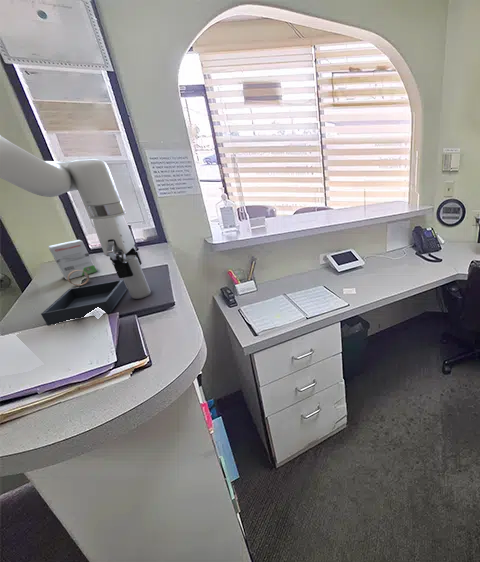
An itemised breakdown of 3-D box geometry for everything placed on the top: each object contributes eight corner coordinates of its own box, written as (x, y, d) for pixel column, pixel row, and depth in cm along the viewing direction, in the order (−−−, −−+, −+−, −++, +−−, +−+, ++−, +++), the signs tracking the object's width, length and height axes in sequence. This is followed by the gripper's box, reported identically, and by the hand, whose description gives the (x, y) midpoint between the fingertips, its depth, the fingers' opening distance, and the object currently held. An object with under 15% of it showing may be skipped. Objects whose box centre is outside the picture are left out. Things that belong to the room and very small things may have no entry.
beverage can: (139, 300, 88) (122, 261, 83) (127, 298, 90) (111, 260, 85) (155, 293, 92) (140, 255, 87) (144, 291, 94) (129, 254, 89)
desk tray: (47, 325, 78) (40, 314, 76) (74, 299, 91) (68, 288, 90) (111, 312, 82) (105, 301, 81) (127, 289, 96) (123, 279, 94)
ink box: (94, 269, 114) (79, 238, 109) (97, 272, 111) (83, 240, 106) (63, 277, 108) (46, 245, 103) (66, 280, 105) (49, 247, 100)
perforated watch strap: (91, 282, 102) (85, 268, 100) (73, 288, 99) (66, 274, 97) (88, 281, 104) (82, 267, 102) (70, 286, 100) (63, 272, 98)
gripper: (100, 206, 86) (124, 263, 93) (74, 218, 72) (105, 285, 79) (132, 203, 89) (152, 259, 96) (113, 214, 74) (139, 279, 81)
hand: (131, 270), depth 87 cm, fingers open, 9 cm apart
